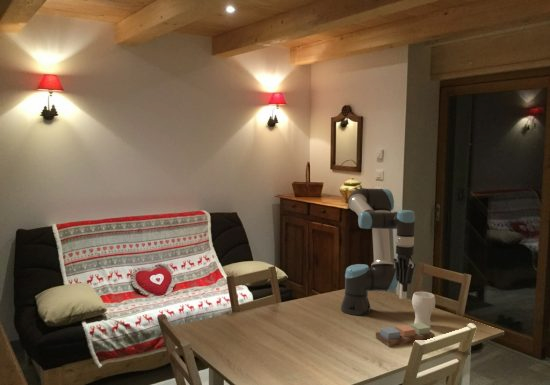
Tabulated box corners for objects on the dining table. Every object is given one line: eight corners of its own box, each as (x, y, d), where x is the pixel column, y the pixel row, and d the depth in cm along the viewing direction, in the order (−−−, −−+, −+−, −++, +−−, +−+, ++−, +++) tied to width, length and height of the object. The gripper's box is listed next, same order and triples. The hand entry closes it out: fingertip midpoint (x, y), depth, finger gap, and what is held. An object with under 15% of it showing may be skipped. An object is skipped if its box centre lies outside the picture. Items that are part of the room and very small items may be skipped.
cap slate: (380, 335, 214) (380, 328, 213) (391, 333, 216) (391, 326, 216) (388, 340, 208) (388, 333, 208) (399, 338, 210) (400, 331, 210)
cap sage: (410, 330, 220) (410, 324, 219) (421, 329, 222) (421, 322, 221) (418, 335, 214) (419, 329, 214) (429, 333, 216) (430, 327, 216)
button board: (388, 346, 206) (388, 341, 206) (375, 337, 215) (375, 332, 215) (434, 339, 215) (434, 334, 215) (420, 331, 224) (420, 326, 224)
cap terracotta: (395, 332, 217) (395, 326, 216) (406, 331, 219) (406, 324, 219) (403, 337, 211) (403, 331, 211) (415, 336, 213) (415, 329, 213)
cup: (435, 330, 226) (437, 299, 224) (411, 328, 228) (413, 297, 226) (432, 322, 236) (434, 292, 234) (410, 320, 238) (411, 290, 237)
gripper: (389, 243, 218) (387, 294, 220) (406, 248, 206) (404, 303, 208) (403, 242, 221) (401, 293, 223) (421, 247, 209) (419, 301, 211)
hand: (402, 298), depth 215 cm, fingers closed
